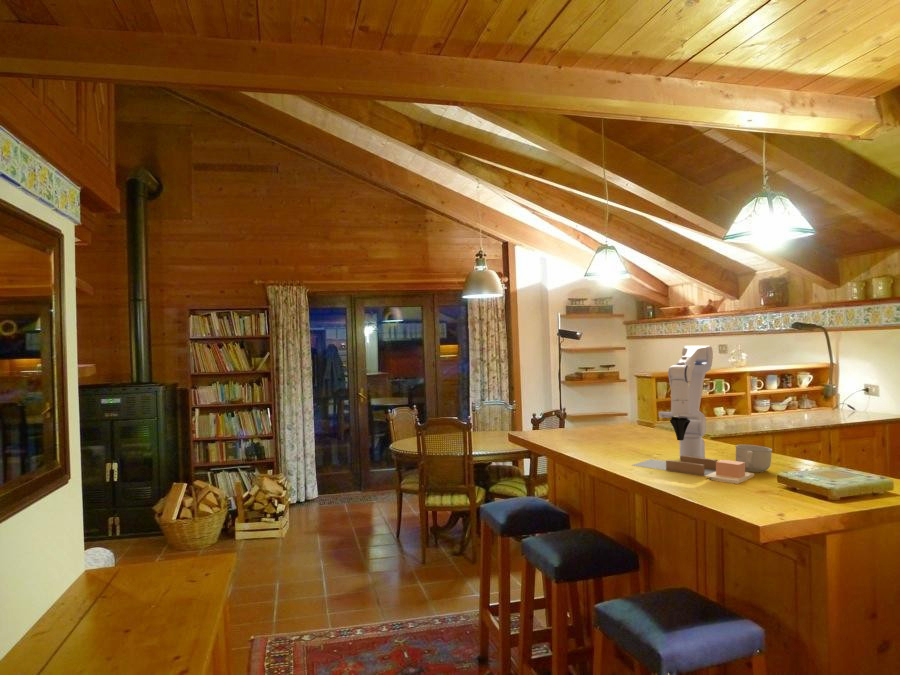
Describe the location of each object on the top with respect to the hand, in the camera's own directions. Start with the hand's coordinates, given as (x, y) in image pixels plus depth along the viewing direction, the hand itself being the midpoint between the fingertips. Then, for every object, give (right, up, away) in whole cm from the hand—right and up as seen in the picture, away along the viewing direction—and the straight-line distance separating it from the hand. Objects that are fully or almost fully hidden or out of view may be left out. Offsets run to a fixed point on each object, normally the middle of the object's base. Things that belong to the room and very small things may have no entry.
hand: (680, 440), depth 210 cm
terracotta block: (+10, -8, -16) cm, 21 cm away
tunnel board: (+1, -9, -7) cm, 12 cm away
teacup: (+21, -9, -8) cm, 24 cm away
